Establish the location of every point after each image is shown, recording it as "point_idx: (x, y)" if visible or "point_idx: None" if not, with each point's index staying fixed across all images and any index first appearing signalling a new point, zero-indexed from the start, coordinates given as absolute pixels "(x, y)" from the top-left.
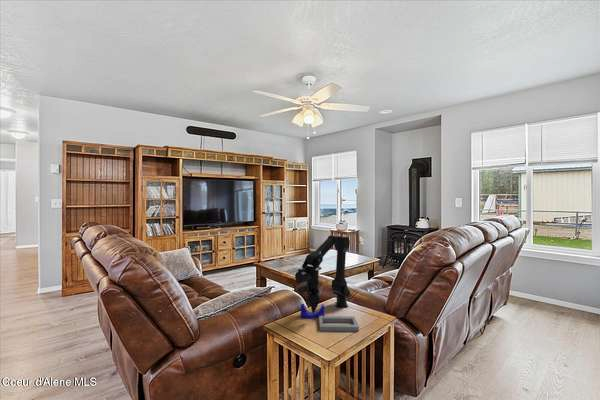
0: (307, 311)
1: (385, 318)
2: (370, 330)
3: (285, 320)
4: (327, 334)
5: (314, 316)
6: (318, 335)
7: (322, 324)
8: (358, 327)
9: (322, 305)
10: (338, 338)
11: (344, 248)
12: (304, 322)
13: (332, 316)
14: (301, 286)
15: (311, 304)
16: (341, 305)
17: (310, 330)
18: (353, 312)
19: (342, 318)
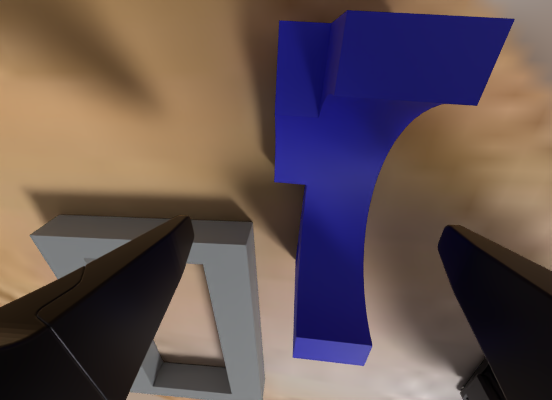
0: (368, 135)
1: None
2: (166, 396)
3: None
4: (35, 250)
5: (304, 195)
6: None
7: (78, 253)
8: (131, 388)
9: (335, 350)
10: (22, 292)
11: None
12: (174, 82)
13: (248, 326)
14: None
15: (18, 319)
16: (476, 388)
17: (29, 142)
18: (372, 394)
19: (225, 362)
